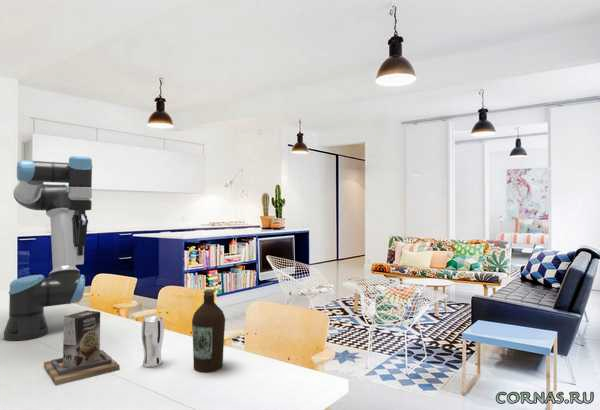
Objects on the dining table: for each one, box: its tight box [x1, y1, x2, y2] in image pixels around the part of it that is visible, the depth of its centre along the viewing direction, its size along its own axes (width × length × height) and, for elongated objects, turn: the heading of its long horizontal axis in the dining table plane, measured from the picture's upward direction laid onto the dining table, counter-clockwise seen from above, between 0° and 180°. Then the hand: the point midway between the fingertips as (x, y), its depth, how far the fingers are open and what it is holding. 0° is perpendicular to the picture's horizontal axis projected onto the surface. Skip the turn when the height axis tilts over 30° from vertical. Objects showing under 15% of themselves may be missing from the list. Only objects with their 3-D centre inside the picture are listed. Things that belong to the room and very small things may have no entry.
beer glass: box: [141, 316, 165, 368], centre depth 140 cm, size 7×7×15 cm
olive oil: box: [191, 289, 226, 373], centre depth 138 cm, size 11×11×25 cm
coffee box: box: [62, 310, 101, 368], centre depth 136 cm, size 9×6×16 cm
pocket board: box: [43, 349, 120, 386], centre depth 135 cm, size 18×18×3 cm
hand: (79, 264), depth 152 cm, fingers closed
